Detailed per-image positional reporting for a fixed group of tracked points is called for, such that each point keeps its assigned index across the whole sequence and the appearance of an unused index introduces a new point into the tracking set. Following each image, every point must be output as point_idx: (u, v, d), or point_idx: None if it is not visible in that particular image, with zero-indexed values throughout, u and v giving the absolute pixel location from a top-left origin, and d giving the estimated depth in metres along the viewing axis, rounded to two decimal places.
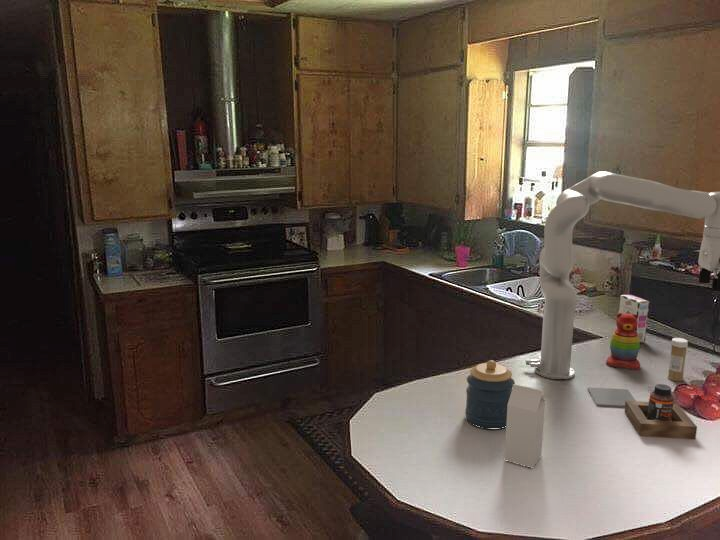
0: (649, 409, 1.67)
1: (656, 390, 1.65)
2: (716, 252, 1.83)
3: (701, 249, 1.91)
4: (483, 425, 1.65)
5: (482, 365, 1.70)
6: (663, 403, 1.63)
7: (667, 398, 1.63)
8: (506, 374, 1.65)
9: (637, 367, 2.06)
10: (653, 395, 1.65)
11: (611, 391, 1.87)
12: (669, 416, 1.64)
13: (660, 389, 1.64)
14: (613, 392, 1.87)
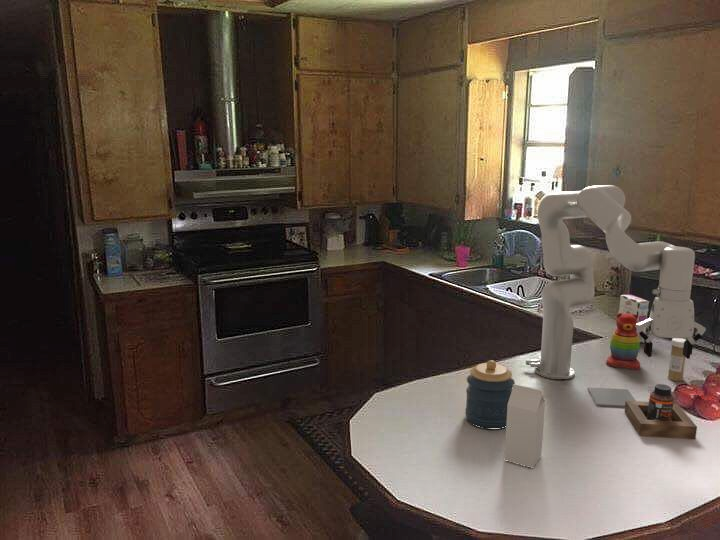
0: (649, 409, 1.67)
1: (656, 390, 1.65)
2: (693, 315, 1.58)
3: (662, 318, 1.58)
4: (483, 425, 1.65)
5: (482, 365, 1.70)
6: (663, 403, 1.63)
7: (667, 398, 1.63)
8: (506, 374, 1.65)
9: (637, 367, 2.06)
10: (653, 395, 1.65)
11: (611, 391, 1.87)
12: (669, 416, 1.64)
13: (660, 389, 1.64)
14: (613, 392, 1.87)
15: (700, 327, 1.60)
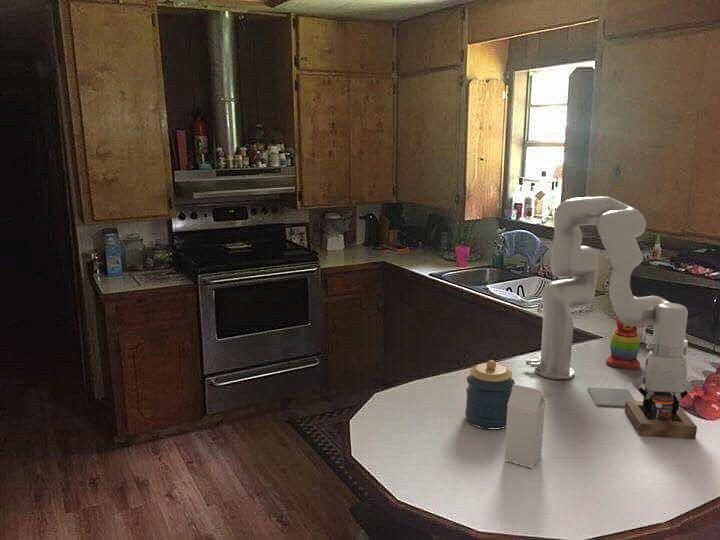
0: None
1: None
2: (686, 371, 1.62)
3: (655, 373, 1.62)
4: (483, 425, 1.65)
5: (482, 365, 1.70)
6: (663, 403, 1.63)
7: (667, 398, 1.63)
8: (506, 374, 1.65)
9: (637, 367, 2.06)
10: (653, 395, 1.65)
11: (611, 391, 1.87)
12: (669, 416, 1.64)
13: None
14: (613, 392, 1.87)
15: (689, 385, 1.63)
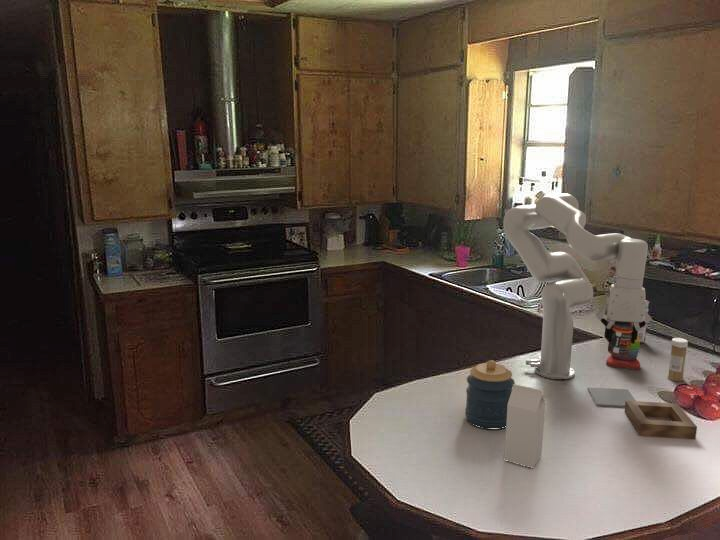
0: None
1: None
2: None
3: (616, 304, 1.74)
4: (483, 425, 1.65)
5: (482, 365, 1.70)
6: (623, 331, 1.75)
7: (626, 327, 1.75)
8: (506, 374, 1.65)
9: (637, 367, 2.06)
10: (614, 325, 1.77)
11: (611, 391, 1.87)
12: (628, 344, 1.77)
13: None
14: (613, 392, 1.87)
15: (647, 316, 1.76)
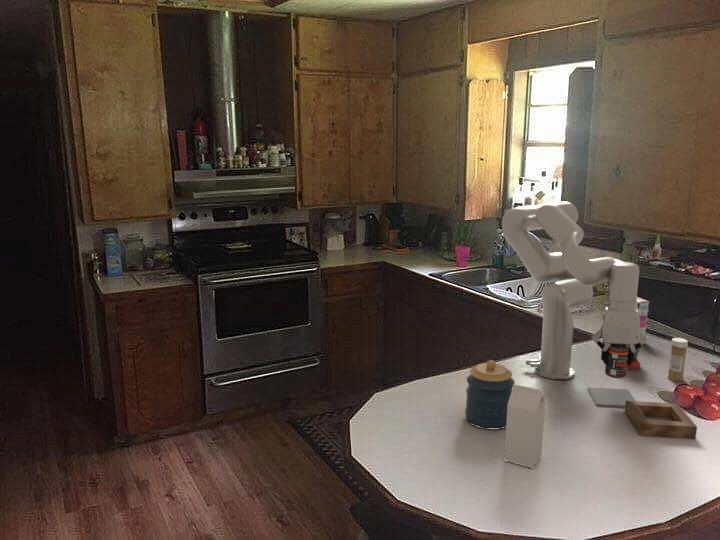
0: None
1: None
2: (639, 324, 1.76)
3: (611, 326, 1.77)
4: (483, 425, 1.65)
5: (482, 365, 1.70)
6: (619, 353, 1.78)
7: (622, 349, 1.78)
8: (506, 374, 1.65)
9: (637, 367, 2.06)
10: (610, 347, 1.80)
11: (611, 391, 1.87)
12: (624, 366, 1.79)
13: None
14: (613, 392, 1.87)
15: (642, 338, 1.78)
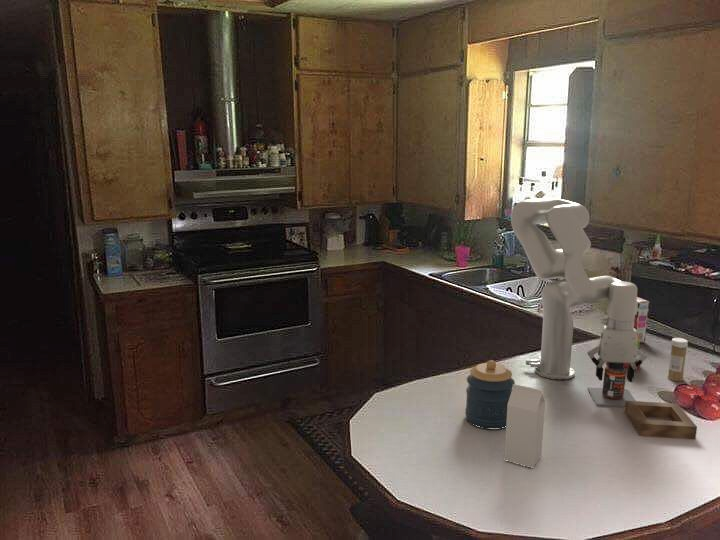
0: (604, 381, 1.83)
1: (610, 364, 1.81)
2: None
3: (609, 345, 1.78)
4: (483, 425, 1.65)
5: (482, 365, 1.70)
6: (616, 375, 1.80)
7: (620, 371, 1.80)
8: (506, 374, 1.65)
9: (637, 367, 2.06)
10: (607, 369, 1.82)
11: None
12: (621, 388, 1.81)
13: (613, 363, 1.80)
14: None
15: (642, 354, 1.79)
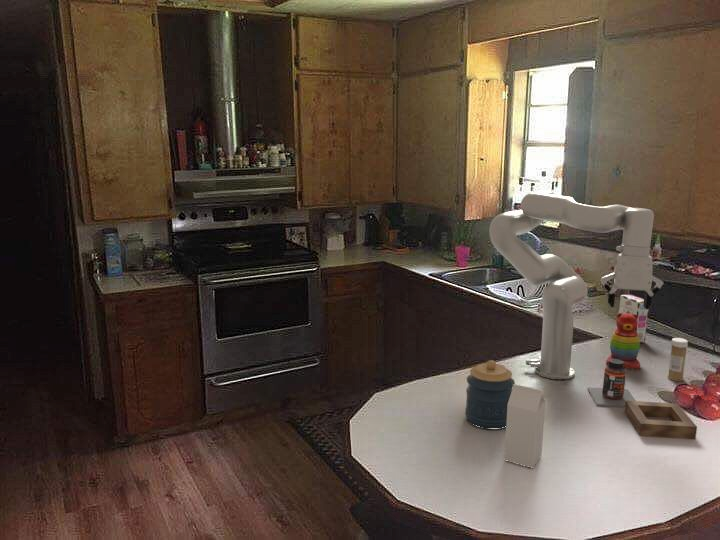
0: (604, 381, 1.83)
1: (610, 364, 1.81)
2: None
3: (623, 272, 1.78)
4: (483, 425, 1.65)
5: (482, 365, 1.70)
6: (616, 375, 1.80)
7: (620, 371, 1.80)
8: (506, 374, 1.65)
9: (637, 367, 2.06)
10: (607, 369, 1.82)
11: None
12: (621, 388, 1.81)
13: (613, 363, 1.80)
14: None
15: (658, 281, 1.78)
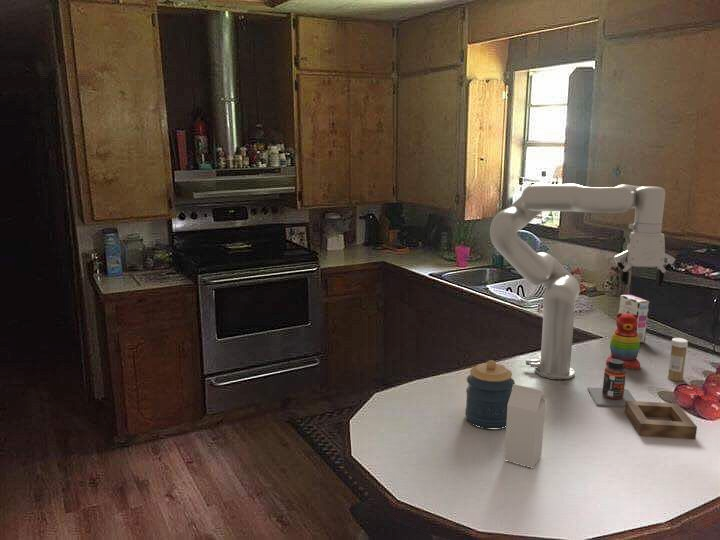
0: (604, 381, 1.83)
1: (610, 364, 1.81)
2: (664, 247, 1.80)
3: (636, 249, 1.81)
4: (483, 425, 1.65)
5: (482, 365, 1.70)
6: (616, 375, 1.80)
7: (620, 371, 1.80)
8: (506, 374, 1.65)
9: (637, 367, 2.06)
10: (607, 369, 1.82)
11: None
12: (621, 388, 1.81)
13: (613, 363, 1.80)
14: None
15: (670, 257, 1.82)
